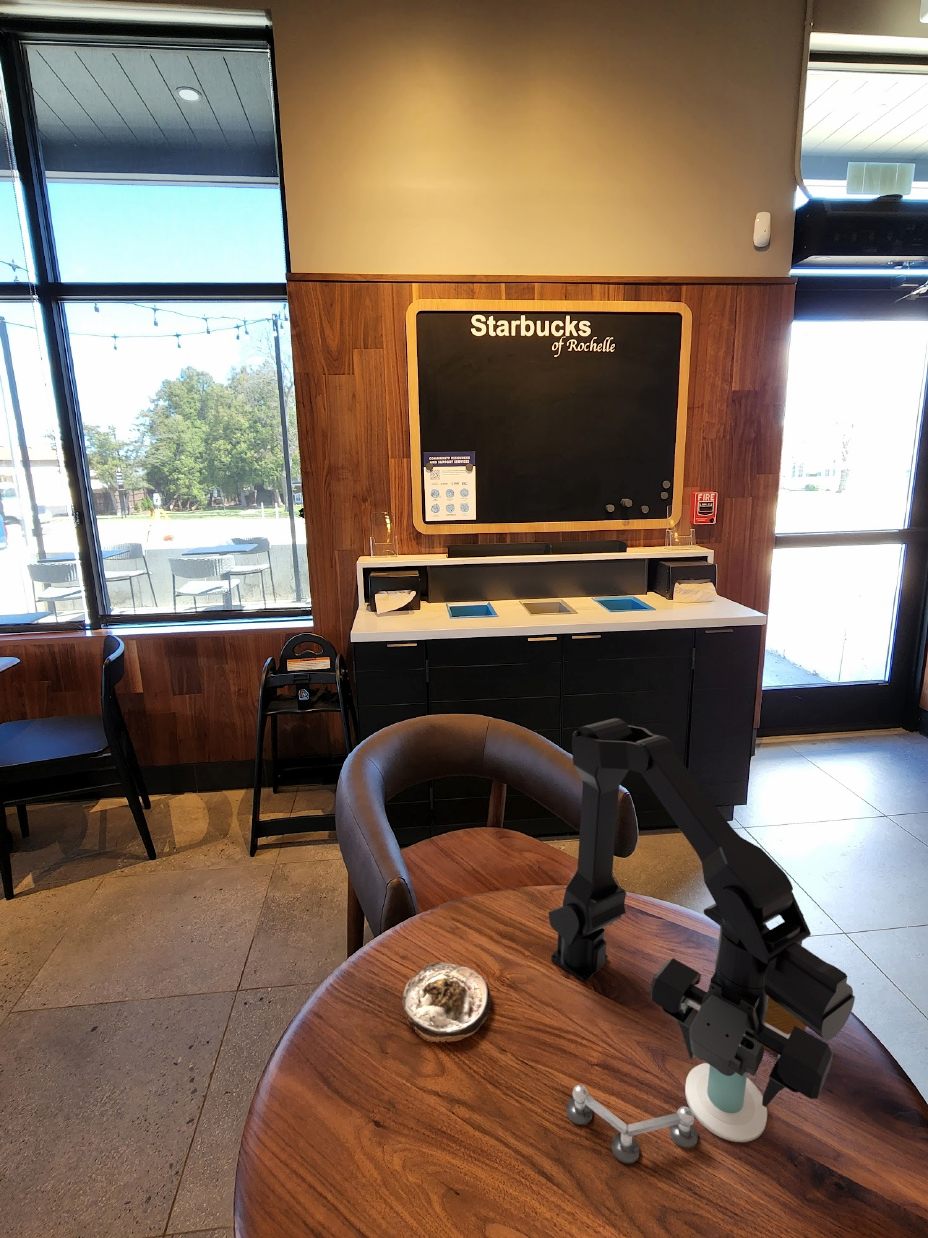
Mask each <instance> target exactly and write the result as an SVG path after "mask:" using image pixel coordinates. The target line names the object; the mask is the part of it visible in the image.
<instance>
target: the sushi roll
mask: <svg viewBox="0 0 928 1238" xmlns="http://www.w3.org/2000/svg"><path fill="white" fill-rule="evenodd" d="M416 972H417V973H416V974H414V976H413V977H412V978H409V979H408V982H407V983H406V985H405V987H404V989H405V990H404V989H403V990H404V991H403V993H402V994H401V996H402V997H401V1000H402V1007H403V1013H404V1014H406V1015H407V1019H408V1022H409V1024H410V1026H411V1027H412V1028H414V1029H415V1030H416V1031H417V1032H418V1033H419V1034H420V1035H421V1036H422V1037H423V1038H425V1039H426V1040H429V1041H432V1042H436V1043H449V1042H450V1043H451V1042H457V1041H461V1040H463V1039H465V1038H468V1037H470V1036H471V1035H473V1034H475V1032H477V1031H478V1030H480V1027H481V1026H482V1025H483V1024H484V1023H486V1022H487V1021H488V1018H489V1016H490V1009H491V1005H492V1004H491V1003H492V1001H491V999H492V997H491V990H490V987H489V984H488V983H487V981H486V980H485V979H484V977H483V976H482V975H480V974H479V973H478V972H477V971H476V970H473V969H471V968H469V967H466V966H465V965H464V966H460V965H459V964H453V963H448V962H435V963H433V962H430V963H428V964H426V965H424V966H423V969H419V971H416ZM414 1029H413V1030H414ZM439 1041H441V1042H439ZM445 1041H447V1042H445Z"/></svg>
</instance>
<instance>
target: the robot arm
mask: <svg viewBox="0 0 928 1238" xmlns="http://www.w3.org/2000/svg"><path fill="white" fill-rule="evenodd" d="M571 738H572V739H571V750H572V765H573V766H574V768H575V770H576V772H577V773H578V775H579V777H580V778H581V780H582V792H581V808H580V810H581V811H580V822H579V823H580V825H579V838H578V839H579V843H578V855H577V857H578V858H577V869H576V872H575V873H574V874H573V875H572V877H571V879H570V880H569V882H568V884H567V885H566V887H565V891H564V896H563V901H562V905H561V906H559V907H556V908H555V909H552V910H550V911H548V918H549V925H550V927H551V928H552V929H553V930H554V931H555V932H556V933H557V945H556V951H554V952H553V953H552V954H551V956H550V960H551V961H552V963H555V964H556V965H557V966H559V967H561V968H562V969H564V970H566V971H567V972H568V973H570V974H572V975H574V977H576V978H578V979H579V980H581V981H583V982H588V981H589V980H590V979H591V978H592V977H593V976H594V975H595V974H597V973H598V972H599V971H600V970H601V969H602V968H603V967H604V966H605V964H606V962H607V961H608V959H609V956H608V954H607V953H606V952H607V941H606V940H605V933H606V931H605V927H607V926H611V925H613V924H614V923H615V922H617V921H618V920H620V919H621V917H622V916H623V915H625V914H626V907H625V906H626V905H625V902H626V897H627V892H626V890H625V889H623V888H622V887H621V886H620V885H619V884H618V882H617V880H616V878H615V876H614V875H613V869H614V855H615V844H616V843H615V842H616V831H617V818H618V806H619V794H620V793H619V792H620V786H621V783H622V782H623V781H624V780H625V779H624V778H625V777H626V775H627V774H628V773H629V771H633V772H636V773H640V774H641V776H642V777H643V779H644V780H645V781H646V784H648V786H649V787H650V789H651V791H652V792H653V794H655V796H656V797H657V798H658V800H659V801H660V803H661V804H662V805H663V807H664V809H665V810H666V812H667V813H668V815H670V817H671V818H672V820H673V821H674V822H675V824H676V825H677V827H678V829H679V830H680V831H681V833H682V834H683V835H684V837H685V838H686V840H687V842H689V845H691V847H692V849H694V851H695V853H696V854H697V856H698V858H699V860H700V862H701V866H702V867H701V868H702V874H703V875H702V876H703V881H704V884H705V886H706V888H707V890H708V892H709V894H710V895H711V897H712V899H713V901H714V904H712V905H709V906H708V907H706V908H704V909H703V914H704V916H706V917H707V918H708V919H710V920H711V921H712V922H714V923H715V924H717V925H718V926H719V933H718V934H719V935H718V941H717V942H718V943H717V948H716V949H717V950H716V957H715V966H714V973H713V975H712V977H711V978H710V980H709V986H708V990H707V991H705V990H703V989H701V988H700V987H698V986H697V985H699V984H700V982H701V979H702V973H701V972H699V971H697V970H695V969H693V968H691V967H690V966H688V965H687V964H685V963H682V962H681V961H679V960H677V959H675V958H673V957H672V958H671V959H668V960H666V961H665V963H664V964H663V965H662V967H661V968H660V970H659V971H658V972H657V973H656V975H654V977H652V980H651V983H650V988H649V989H650V990H649V997H650V1000H651V1002H653V1003H655V1004H656V1005H658V1006H660V1008H662V1011H663V1012H664V1013H665V1014H667V1015H668V1016H670V1017H671V1018H673V1019H674V1020H676V1022H677V1023H678V1026H679V1028H680V1032H681V1035H682V1036H683V1041H684V1044H685V1047H686V1051H687V1053H688V1056H689V1058H690V1059H691V1060H694V1059H695V1057H696V1058H697V1059H699V1060H702V1061H703V1062H704V1063H708V1064H709V1065H711V1066H713V1067H714V1068H716V1069H717V1070H718V1071H719V1072H720V1073H722V1074H724V1075H726V1076H732V1075H734V1074H735V1072H736V1073H737V1074H739V1075H741V1076H743V1075H744V1073H745V1072H747V1074H749V1075H750V1076H753V1077H754V1076H756V1075H757V1073H758V1069H759V1068H760V1065H761V1063H762V1061H763V1057H764V1054H765V1048H764V1046H765V1047H767V1048H769V1049H770V1050H772V1051H774V1052H775V1053H774V1054H777V1060H776V1061H775V1063H774V1065H773V1067H772V1070H771V1071H770V1073H769V1075H768V1078H769V1079H768V1081H767V1084H766V1087H765V1089H764V1093H763V1095H762V1096H763V1100H762V1105H763V1106H764V1107H768V1105H770V1103H771V1102H772V1101H773V1099H774V1098H775V1097H776V1096H777V1094H778V1093H780V1092H781V1091H782V1090H784V1089H785V1088H786V1089H788V1090H789V1091H790V1092H792V1093H795V1094H798V1093H800V1094H802V1095H803V1096H805V1097H807V1098H808V1099H810V1100H817V1099H819V1097H820V1095H821V1092H822V1089H823V1087H824V1084H825V1082H826V1079H827V1077H828V1074H829V1073H830V1069H831V1067H832V1062H833V1057H834V1053H833V1050H832V1048H831V1046H830V1045H829V1044H828V1043H827V1042H825V1041H831V1040H832V1039H834V1038H836V1036H837V1035H838V1034H839V1033H840V1032H841V1031H842V1029H843V1028H844V1027H845V1024H846V1023H847V1021H848V1019H849V1018H850V1015H851V1013H852V1012H853V1008H854V1004H855V1000H856V996H855V995H854V990H853V987H852V986H851V985H850V984H849V983H848V982H847V981H848V975H847V973H845V972H844V971H843V970H841V969H840V968H838V967H836V966H835V965H833V964H830V963H828V962H826V961H825V960H823V959H822V958H820V957H819V956H817V955H816V954H814V953H813V952H812V951H811V952H812V953H811V952H810V950H809V949H808V948H807V949H808V950H809V951H808V950H807V949H805V948H804V947H805V946H804V947H802V944H803V941H805V940H806V939H808V938H809V937H811V936H812V933H811V931H810V928H809V926H808V923H807V922H806V919H805V917H804V914H803V912H802V910H801V908H800V906H799V904H798V901H797V899H796V897H795V895H794V893H793V890H794V888H793V887H794V886H793V885H792V882H791V880H790V878H789V877H788V875H787V874H786V873H785V871H784V870H783V869H782V868H781V867H780V866H779V865H778V864H777V863H776V862H775V861H774V860H773V859H772V858H771V857H770V856H769V855H768V854H767V853H766V852H765V851H764V850H763V849H762V848H761V847H759V846H758V845H756V844H754V843H752V842H750V841H748V840H747V839H744V838H743V837H742V836H740V834H739V833H738V832H737V831H736V830H735V829H734V828H733V827H732V826H731V824H730V823H729V822H728V820H727V819H726V818H725V816H724V815H723V814H722V812H721V811H720V810H719V808H718V807H717V806H716V804H715V803H714V802H713V801H712V800H711V798H710V797H709V795H708V794H707V793H706V791H705V790H704V789H703V787H702V786H701V785H700V783H699V782H698V781H697V780H696V779H695V777H694V776H693V775H692V773H691V772H690V771H689V769H688V768H687V767H686V765H685V764H684V763H683V761H682V760H681V759H680V757H679V756H678V754H677V753H676V749H675V745H674V743H673V742H672V741H671V740H670V739H669V738H668V737H666V736H664V735H663V736H662V735H659V734H653V733H652V732H650V730H648V729H647V728H645V727H641V726H635V725H631V724H630V725H629V724H627V722H625V721H624V720H623V719H620V718H616V717H615V718H611V719H607V720H603V721H599V722H595V723H592V724H587V725H583V726H581V727H579V728H577V729H576V730H575V731H574V732H573V734H572V737H571ZM779 916H780V917H781V919H782V920H783V922H781V923H780V924H778V925H776V926H775V927H773V928H772V929H770V928H769V927H768V925H767V923H768V922H770V921H772V920H774V919H775V918H777V917H779ZM768 996H769V997H770V998H771V999H772V1000H773V1001H775V1002H776V1003H777V1004H779V1005H780V1006H781V1007H783V1008H784V1009H785V1010H786V1011H788V1012H789V1013H790V1014H792V1015H793V1016H794V1017H796V1018H797V1019H798V1020H799V1021H801V1022H802V1023H803V1024H805V1025H806V1027H807V1028H809V1029H810V1030H811V1031H812V1032H814V1033H815V1034H816V1035H818V1036H819V1037H820V1038H822V1039H823V1040H824V1041H823V1040H821V1039H819V1038H817V1037H816V1036H814V1035H812V1034H810V1033H809V1032H807V1031H806V1030H805V1031H803V1030H802V1029H800V1028H798V1027H796V1026H794V1028H793V1030H792V1032H791V1034H785V1033H783V1032H781V1031H780V1030H778V1029H776V1028H774V1027H773V1026H771V1025H769V1024H767V1023H766V1022H765V1016H766V1012H767V1009H768ZM763 1045H764V1046H763Z"/></svg>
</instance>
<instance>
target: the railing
mask: <svg viewBox="0 0 928 1238" xmlns="http://www.w3.org/2000/svg"><path fill="white" fill-rule="evenodd" d="M593 1112H594V1113H595V1114H597V1115H598V1116H599V1117H600V1118H602V1119H603V1120H604V1121H606V1122H607V1123H608V1124H610V1125H611V1126H612V1127H613V1128H614V1129H616V1130H617V1131H618V1132H619V1133H616V1134H615V1135H614V1136H613V1137H612V1139H611V1147H610V1148H611V1151H612V1154H613V1156H614V1157H615V1159H616V1160H618V1161H619V1162H620V1163H622V1164H625V1165H633V1164H635V1163H636V1162H637V1161H638V1159H639V1157H640V1146H639V1144H638V1142H637V1140H636V1139H635V1138H634V1137H633V1136H636V1135H640V1134H644V1133H649V1132H652V1131H653V1132H654V1131H656V1130H660V1129H661V1130H662V1129H664V1128H668V1127H669V1135H670V1137H671V1140H672V1141H673V1142H674V1144H676V1145H677V1146H679V1147H680V1148H682V1149H686V1150H688V1149H693V1148H695V1147H696V1145H697V1144H698V1132H697V1130H696V1128H695V1126H694V1125H693V1124H694V1122H695V1121H694V1120H695V1116H694V1115H693V1113H692V1111H691V1110H690V1108H689V1106H688V1107H687V1106H681V1107H679V1108H678V1109H677V1111H676V1112H674V1113H671V1114H666V1115H663V1116H658V1117H654V1118H650V1119H645V1120H642V1121H637V1122H634V1123H630V1124H626V1122H624V1121H623V1120H621V1119H620V1118H619V1117H618V1116H617V1115H615V1114H614V1113H612V1112H611V1111H610V1110H609V1109H607V1108H606V1107H605V1106H603V1105H602V1104H601V1103H600V1102H599V1101H597V1100H596V1099H594V1098H593V1097H592V1096H591V1095H590V1094H589V1092H588V1090H587V1088H586V1087H585V1086H584V1085H583V1084H577V1085H575V1086H574V1088H573V1090H572V1098H570V1099H569V1100H568V1102H567V1103H566V1115H567V1118H568V1119H569V1120H570V1121H571V1122H572V1123H573V1124H575V1125H578V1126H586V1125H588V1124H589V1123H590V1122H591V1121H592V1119H593Z"/></svg>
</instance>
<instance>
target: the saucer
mask: <svg viewBox="0 0 928 1238" xmlns="http://www.w3.org/2000/svg"><path fill="white" fill-rule="evenodd" d="M709 1069H710V1065H709V1064H708V1063H706V1062H704V1063H701V1064H698V1065H696V1066H695V1067H693V1068H692V1069H691V1070H690V1071H689V1073H688V1074H687V1076H686V1080H685V1087H684V1094H685V1100H686V1102H687V1105H688V1108H689V1109H690V1110H691V1111H692V1113H693V1115H694V1118H695V1119H696V1120H697V1121H698V1122H699V1123H700V1124H701V1125H702V1126H703V1127H704V1128H705V1129H707V1130H708V1131H709V1132H710V1133H712V1134H714V1135H715V1136H718V1137H719V1138H721V1139H724V1140H726V1141H731V1142H736V1143H749V1142H751V1141H755V1140H756V1139H758V1138H759V1137H760V1136H761V1135H762V1134H763V1132H764V1131H765V1128H766V1126H767V1120H768V1108H767V1107H768V1106H766V1107H764V1106H763V1105H762V1100H763V1095H762V1093H761V1092H760V1090H759V1088H758V1087H757V1086H756V1085H755V1084H754V1082H753V1081H751V1079H749V1077H747V1079H746V1087H745V1095H744V1103H743V1107H742V1109H741V1110H740V1111H739V1112H737V1113H727V1112H724V1111H722V1110H720V1109H718V1108H717V1107H716V1106H714V1104H713V1103H712V1102H711V1101H710V1099H709V1097H708V1094H707V1087H708V1078H709Z"/></svg>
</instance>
